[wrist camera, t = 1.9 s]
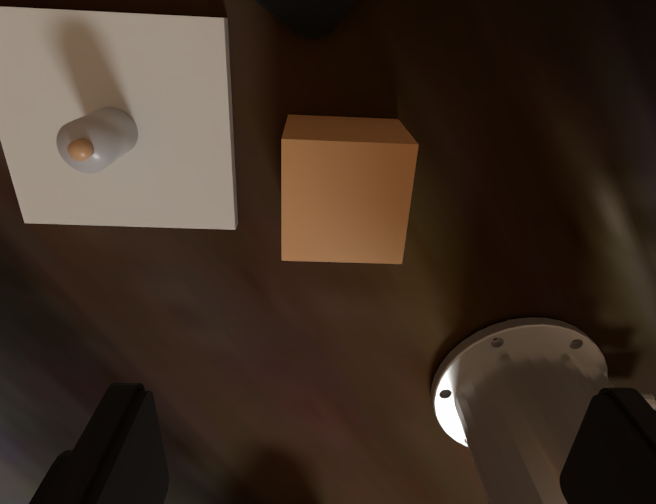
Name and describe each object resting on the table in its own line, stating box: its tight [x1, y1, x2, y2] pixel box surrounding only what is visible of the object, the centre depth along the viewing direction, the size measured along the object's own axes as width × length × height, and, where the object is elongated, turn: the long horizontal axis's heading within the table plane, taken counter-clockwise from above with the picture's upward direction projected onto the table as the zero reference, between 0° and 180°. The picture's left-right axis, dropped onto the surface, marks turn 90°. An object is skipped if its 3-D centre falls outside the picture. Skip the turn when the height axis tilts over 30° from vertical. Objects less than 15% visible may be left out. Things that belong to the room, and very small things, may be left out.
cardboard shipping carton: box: [281, 114, 419, 264], centre depth 23 cm, size 6×6×6 cm
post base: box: [0, 6, 238, 230], centre depth 22 cm, size 12×11×5 cm
